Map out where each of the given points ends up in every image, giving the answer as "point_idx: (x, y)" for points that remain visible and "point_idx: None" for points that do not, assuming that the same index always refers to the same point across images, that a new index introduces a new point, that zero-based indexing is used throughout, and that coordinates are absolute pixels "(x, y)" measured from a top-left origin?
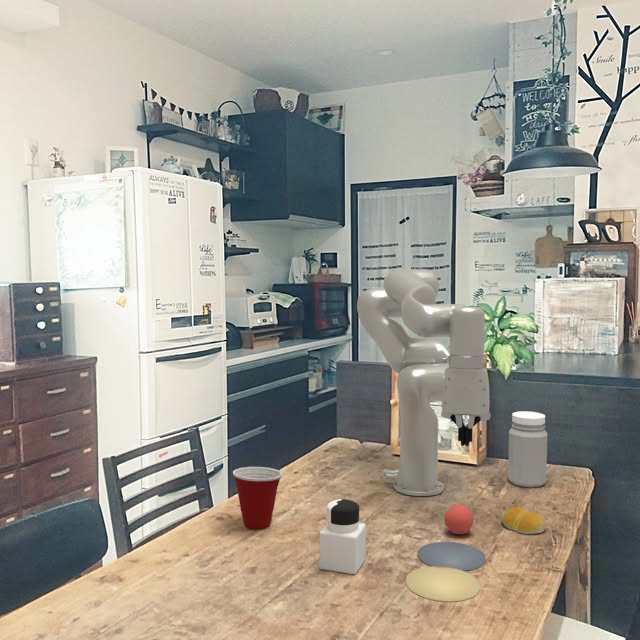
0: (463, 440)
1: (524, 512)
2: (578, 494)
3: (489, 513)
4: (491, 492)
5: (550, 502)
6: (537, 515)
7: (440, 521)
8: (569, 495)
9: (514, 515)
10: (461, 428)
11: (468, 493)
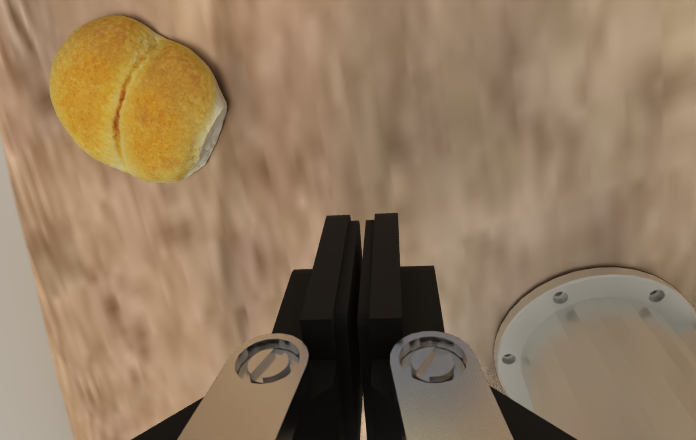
0: (371, 241)
1: (121, 117)
2: (86, 430)
3: (295, 190)
4: None
5: (137, 350)
6: (63, 97)
7: (469, 27)
8: (106, 417)
9: (151, 75)
10: (395, 316)
11: None
